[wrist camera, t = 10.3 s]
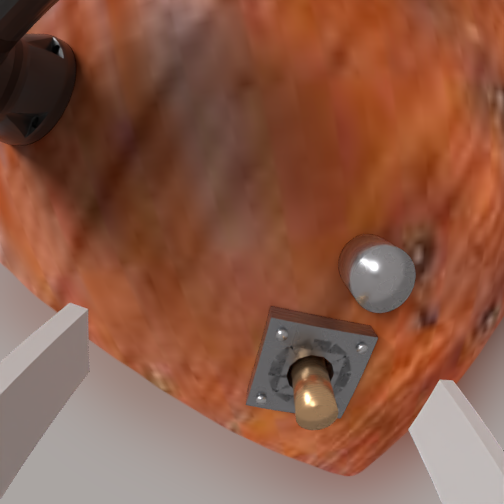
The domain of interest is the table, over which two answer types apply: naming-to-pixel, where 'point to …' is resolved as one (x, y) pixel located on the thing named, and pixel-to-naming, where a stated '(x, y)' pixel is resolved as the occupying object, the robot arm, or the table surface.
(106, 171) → the table surface
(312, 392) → the brass peg
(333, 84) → the table surface
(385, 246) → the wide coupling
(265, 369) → the flange socket
